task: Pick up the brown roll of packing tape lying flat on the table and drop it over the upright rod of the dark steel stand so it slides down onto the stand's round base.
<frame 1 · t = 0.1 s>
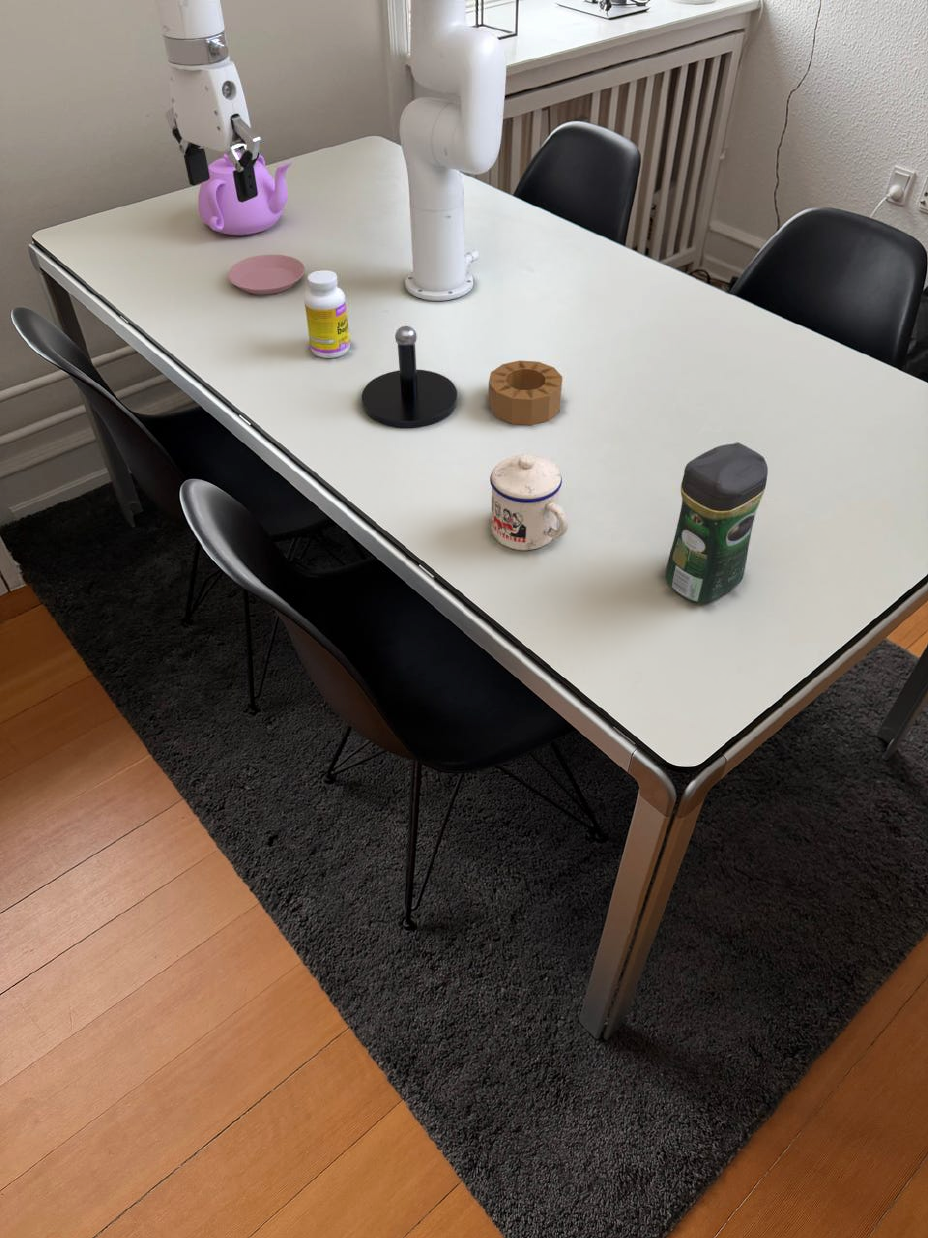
hand: (223, 190, 129), 31 cm above the table, tool pointing down, fingers open, 9 cm apart
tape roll: (524, 404, 147), on the table
stand: (409, 400, 148), on the table
plate: (268, 282, 178), on the table
supplement bottle: (331, 350, 160), on the table
teapot: (254, 225, 196), on the table
teacup with lid: (531, 536, 125), on the table
coffee jar: (701, 581, 119), on the table
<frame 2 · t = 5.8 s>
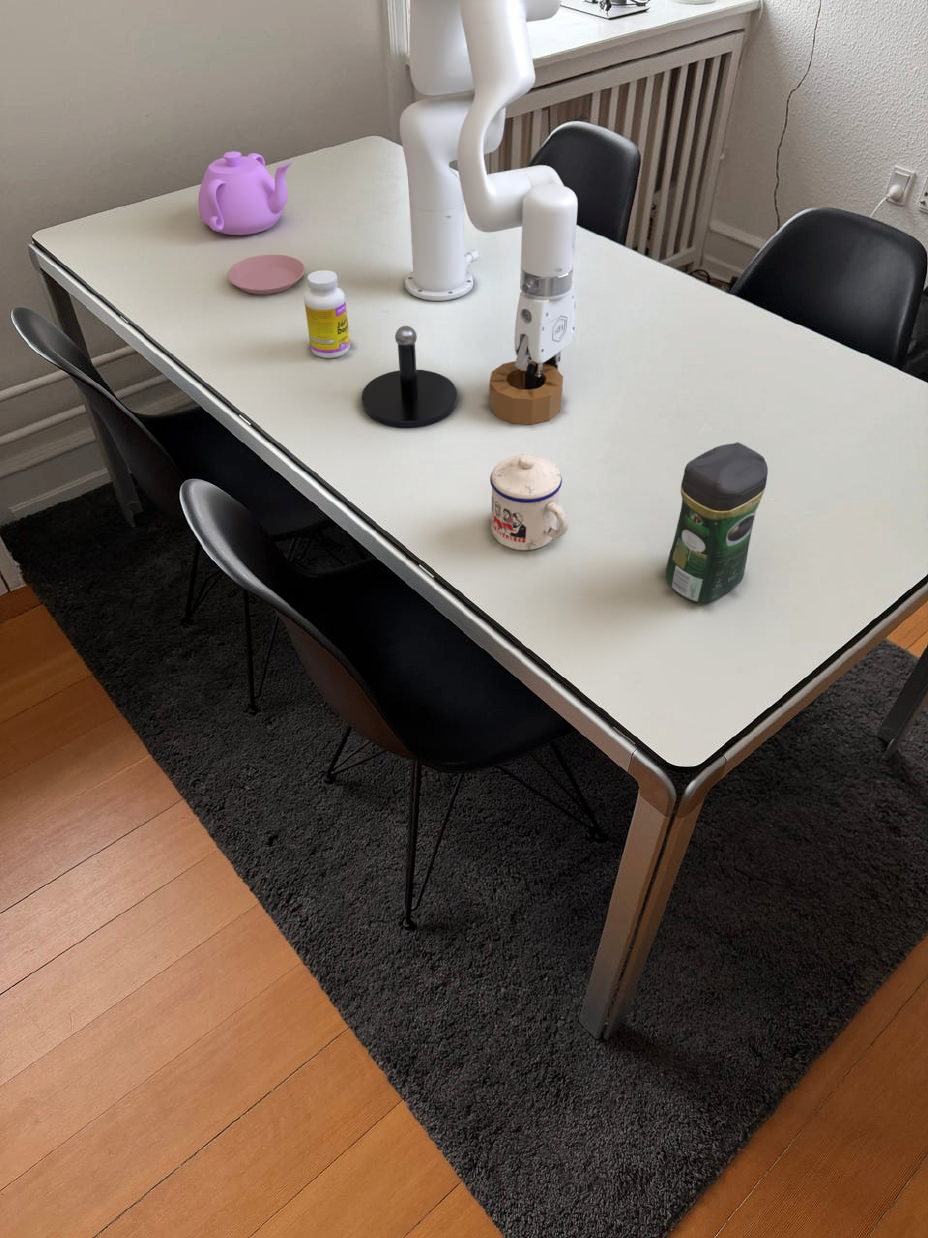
hand: (540, 388, 149), 1 cm above the table, tool pointing down, fingers closed on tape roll, 3 cm apart
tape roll: (525, 404, 147), on the table, touching gripper
everything else where it was.
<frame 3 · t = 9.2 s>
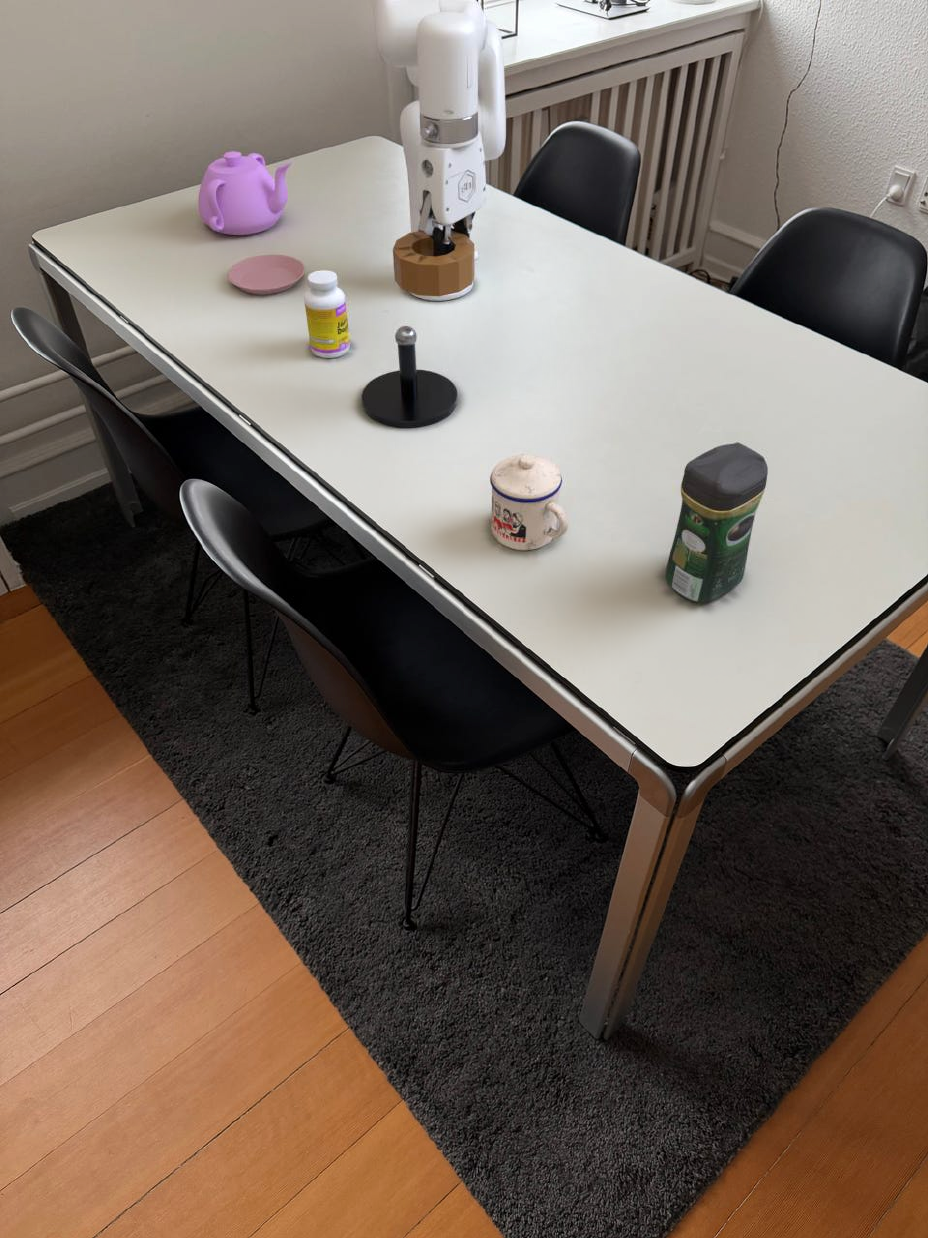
hand: (452, 261, 135), 21 cm above the table, tool pointing down, fingers closed on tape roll, 3 cm apart
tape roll: (434, 277, 134), point 20 cm above the table, touching gripper
everything else where it was.
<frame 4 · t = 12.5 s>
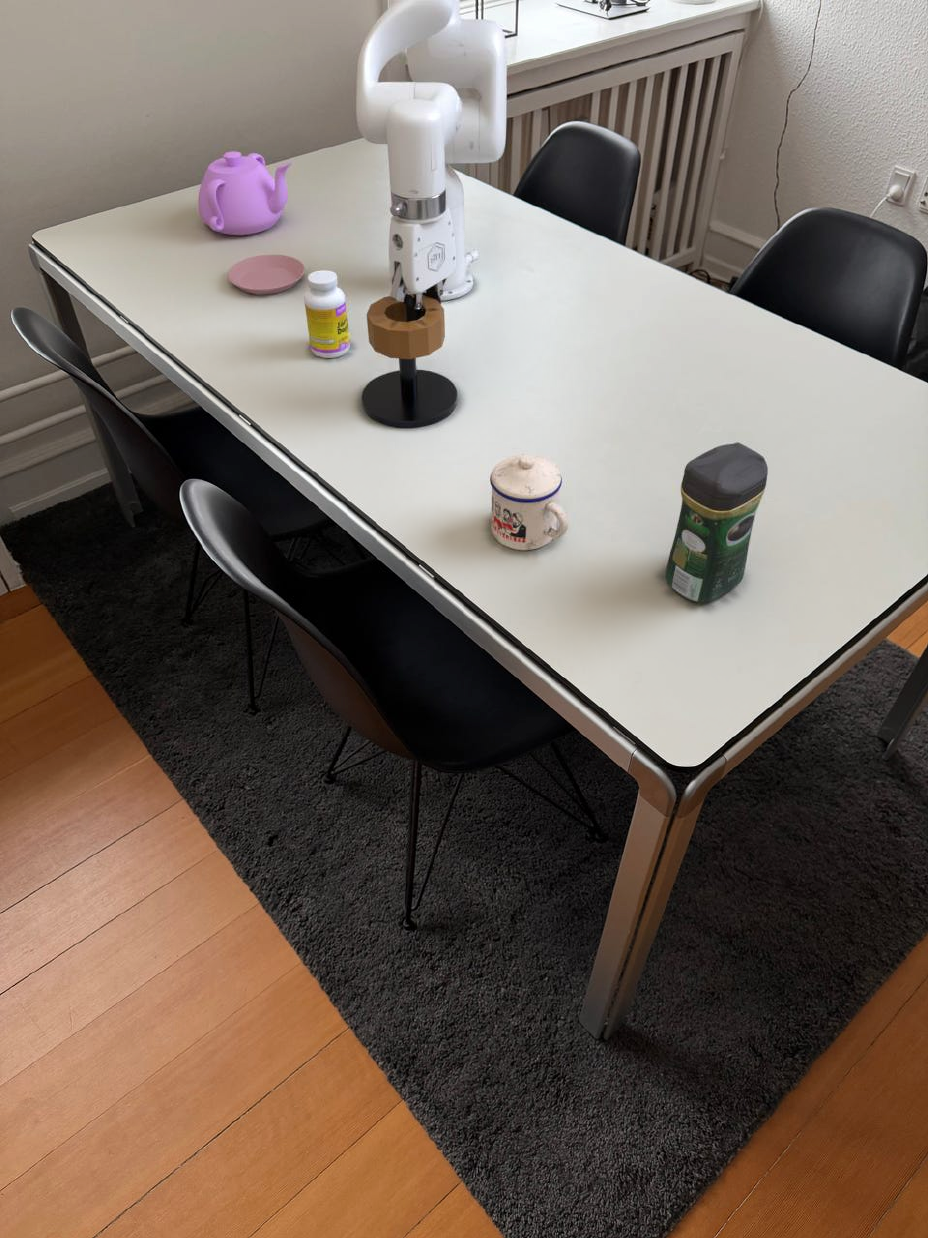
hand: (424, 323, 143), 11 cm above the table, tool pointing down, fingers closed on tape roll, 3 cm apart
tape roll: (407, 339, 141), point 10 cm above the table, touching gripper
everything else where it was.
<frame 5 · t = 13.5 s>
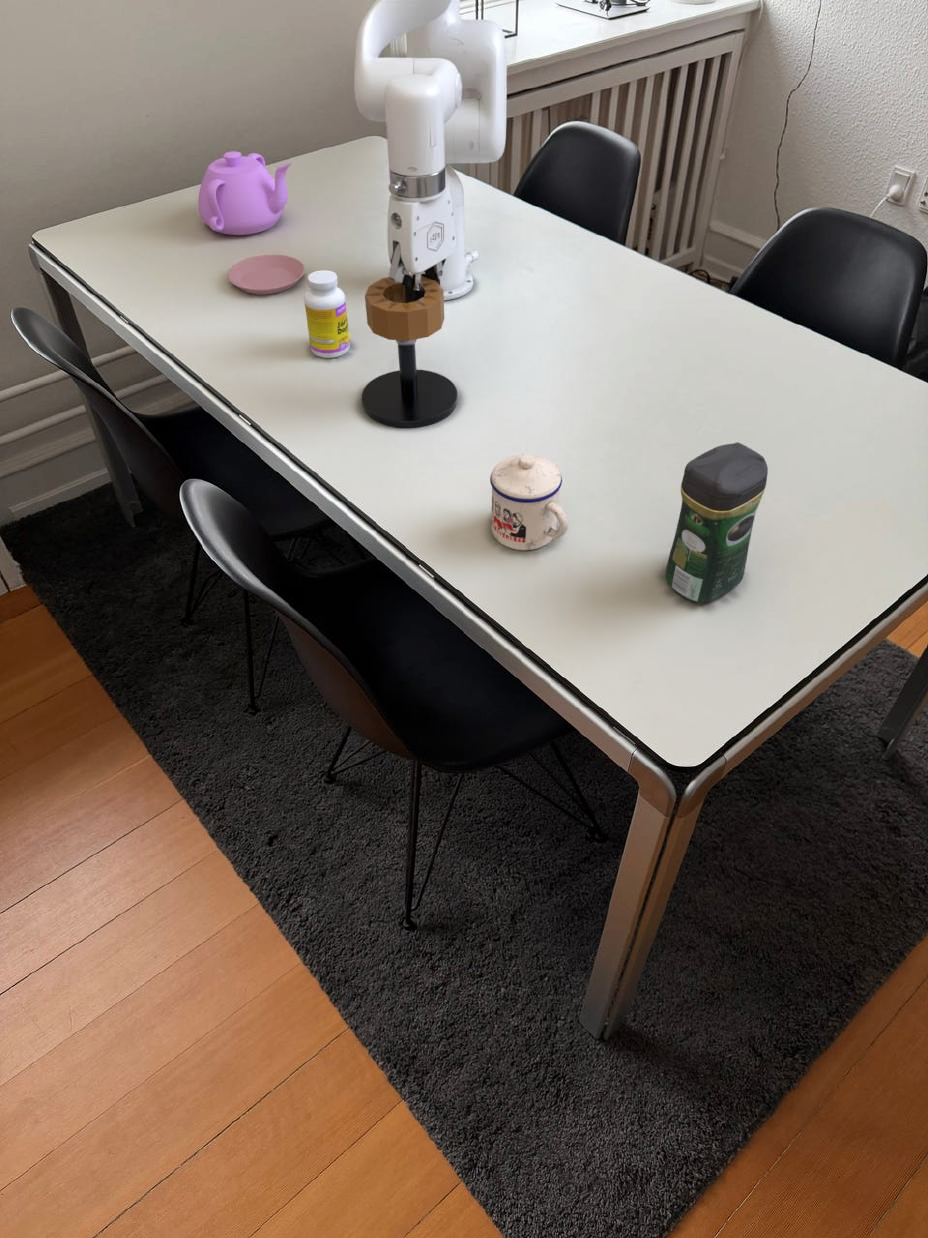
hand: (423, 305, 141), 14 cm above the table, tool pointing down, fingers closed on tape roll, 3 cm apart
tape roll: (406, 321, 139), point 13 cm above the table, touching gripper
everything else where it was.
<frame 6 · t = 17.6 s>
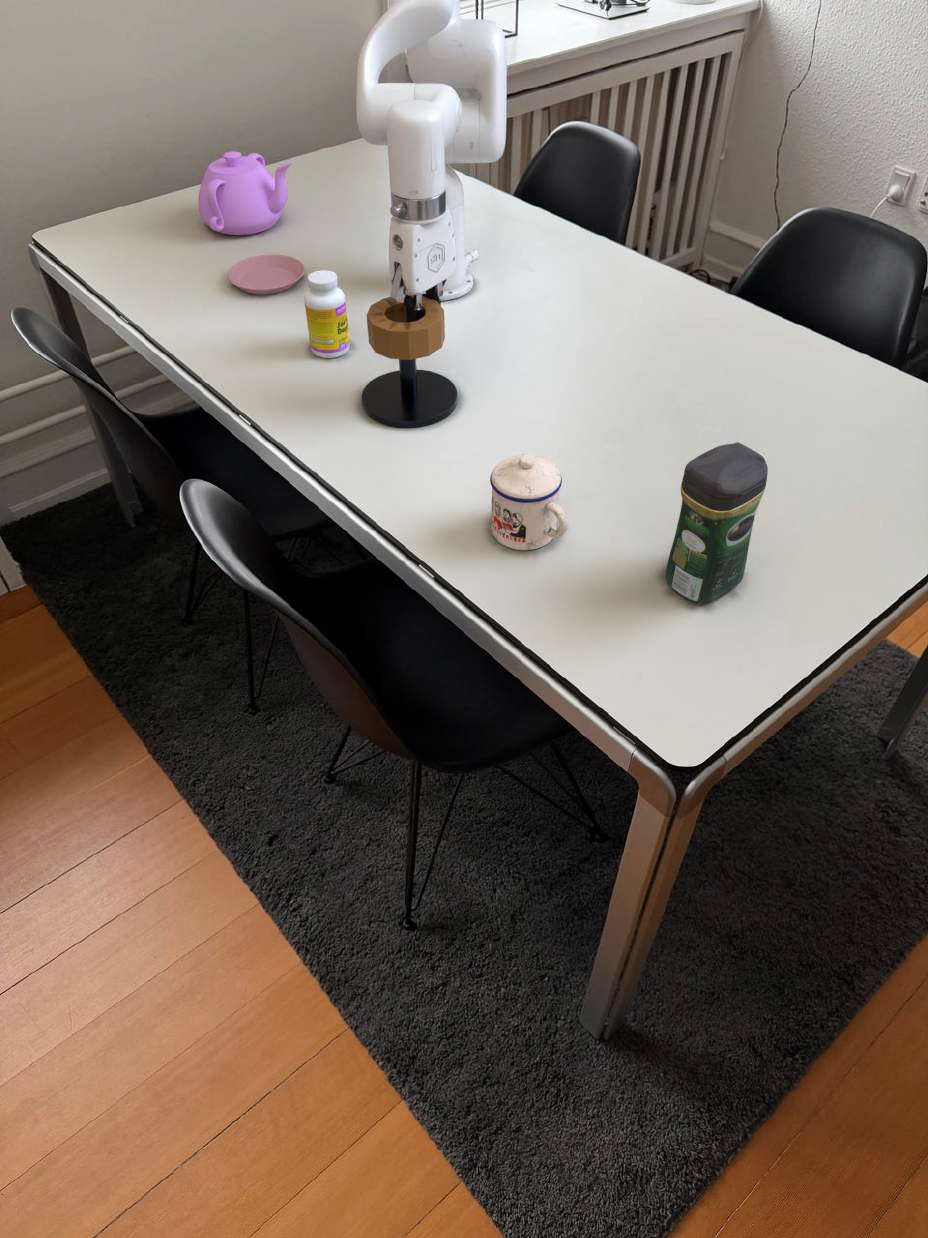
hand: (424, 325, 143), 11 cm above the table, tool pointing down, fingers closed on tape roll, 3 cm apart
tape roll: (407, 340, 141), point 10 cm above the table, touching gripper
everything else where it was.
when the fingers open (14 cm above the table, at t = 21.4 s): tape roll drops 12 cm, resting on stand.
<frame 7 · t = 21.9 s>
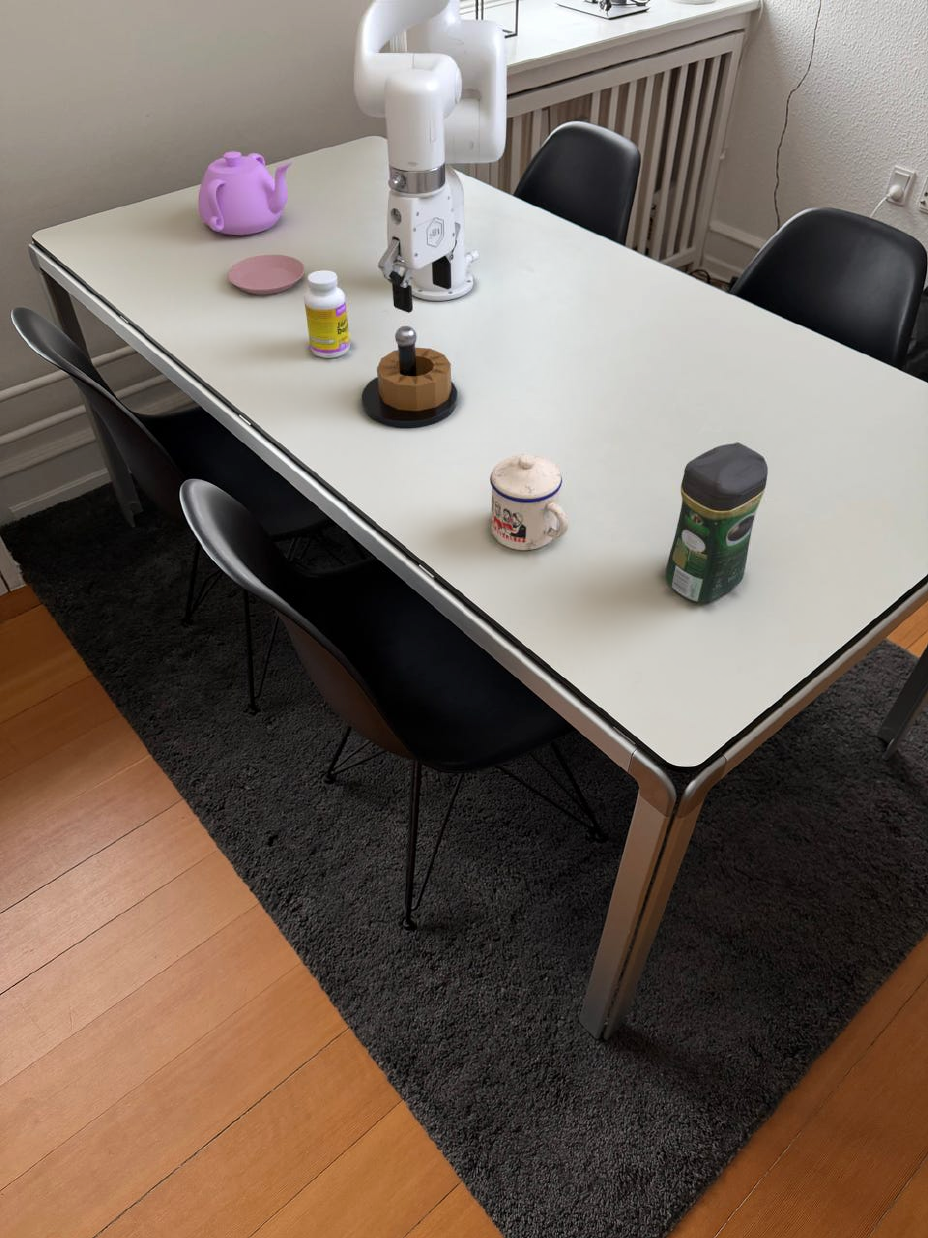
hand: (422, 297, 139), 16 cm above the table, tool pointing down, fingers open, 8 cm apart
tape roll: (415, 391, 148), point 1 cm above the table, touching stand
everything else where it was.
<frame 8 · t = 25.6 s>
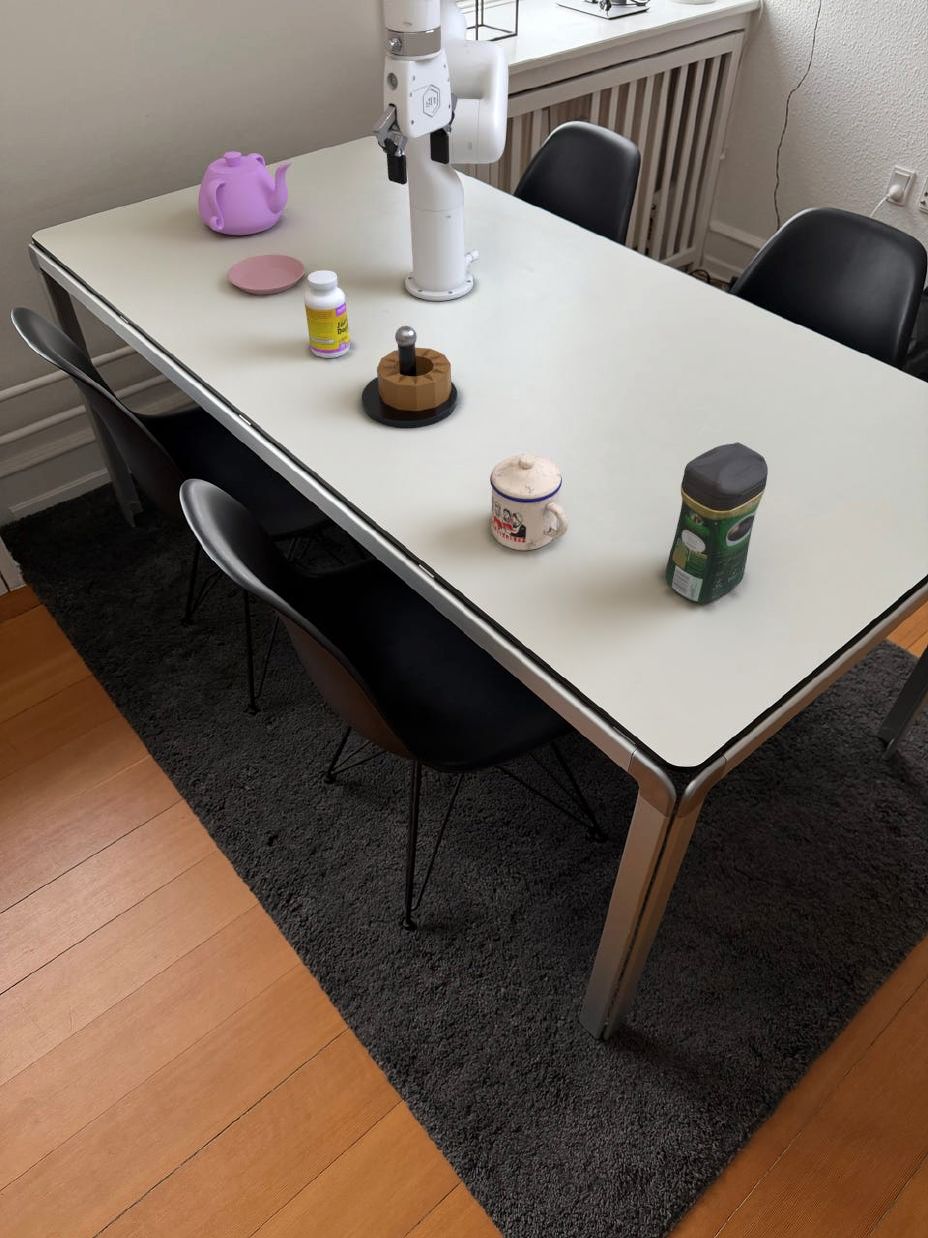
hand: (419, 171, 140), 28 cm above the table, tool pointing down, fingers open, 9 cm apart
nothing on the table moved.
at the end: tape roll 1.2 cm from the stand (horizontally); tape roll point 1.2 cm above the table; the gripper is holding nothing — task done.
